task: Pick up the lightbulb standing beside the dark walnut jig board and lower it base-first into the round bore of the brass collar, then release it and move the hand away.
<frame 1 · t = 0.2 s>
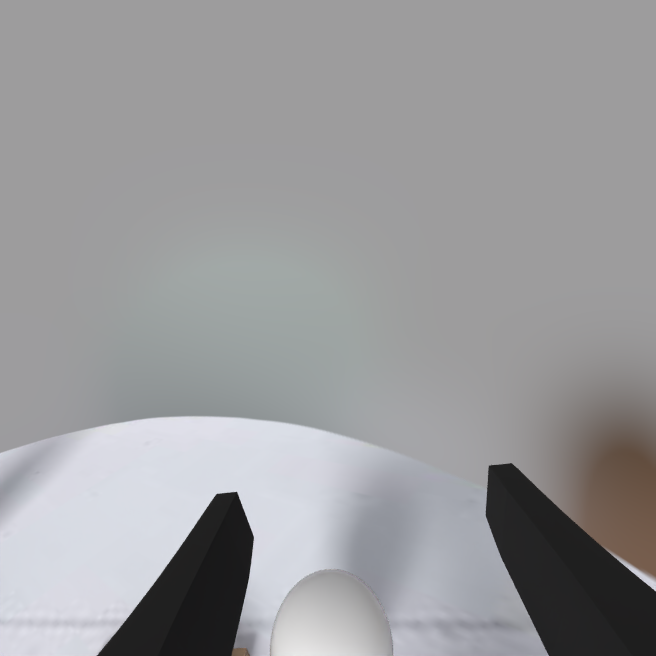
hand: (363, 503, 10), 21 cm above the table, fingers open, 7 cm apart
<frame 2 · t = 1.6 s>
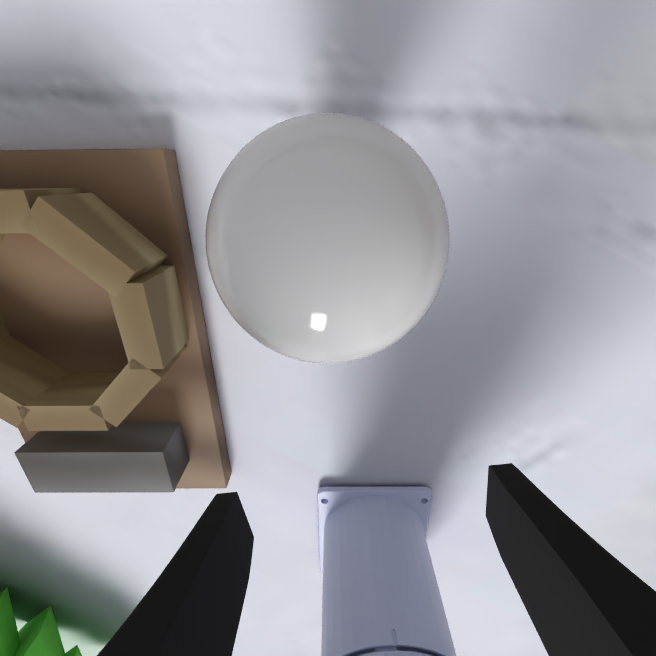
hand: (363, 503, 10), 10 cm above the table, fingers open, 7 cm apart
lightbulb: (329, 217, 17), on the table
jig: (105, 346, 19), on the table
decorative tree: (42, 614, 31), on the table
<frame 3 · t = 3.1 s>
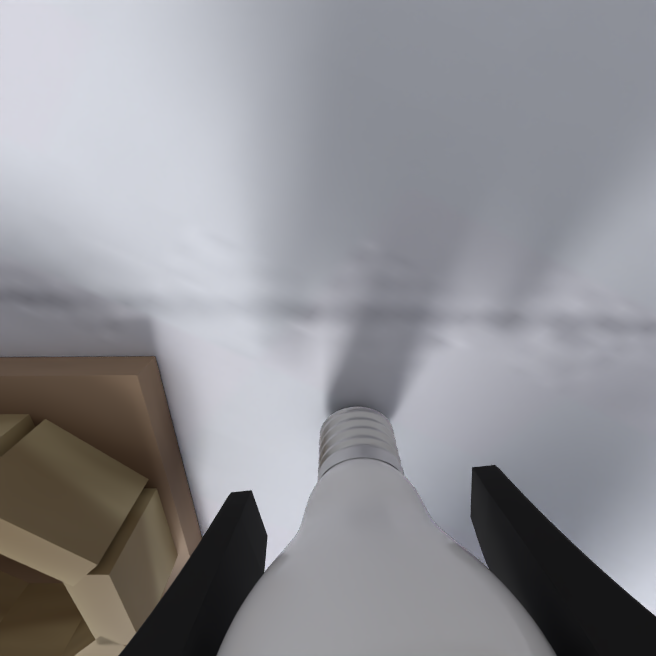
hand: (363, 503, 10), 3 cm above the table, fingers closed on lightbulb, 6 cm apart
lightbulb: (354, 420, 13), on the table, touching gripper
jig: (76, 542, 16), on the table
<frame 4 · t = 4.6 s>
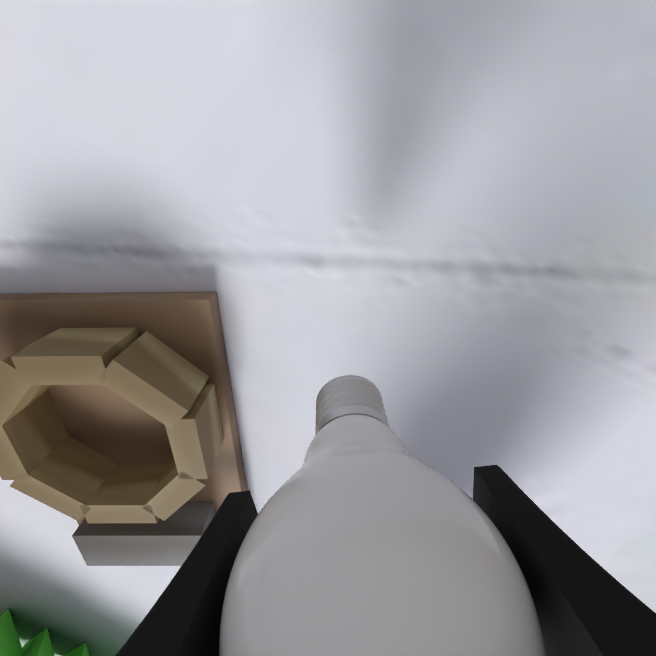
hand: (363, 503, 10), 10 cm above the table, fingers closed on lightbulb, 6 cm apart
lightbulb: (347, 390, 15), point 5 cm above the table, touching gripper
jig: (148, 437, 22), on the table
decorative tree: (76, 649, 34), on the table
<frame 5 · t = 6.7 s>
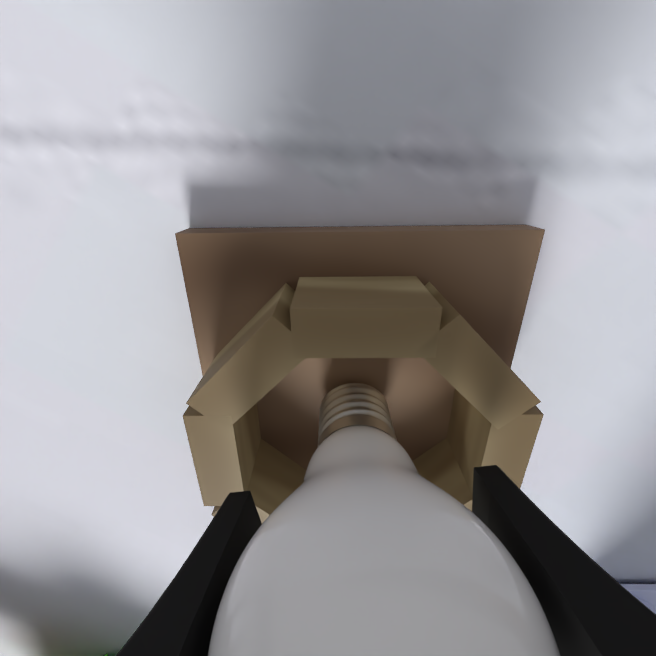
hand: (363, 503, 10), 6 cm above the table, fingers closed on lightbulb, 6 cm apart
lightbulb: (352, 398, 14), point 1 cm above the table, touching gripper, jig
jig: (351, 441, 16), on the table
when the fingers open (6 cm above the table, at t = 7.7 s): lightbulb stays where it is, resting on jig.
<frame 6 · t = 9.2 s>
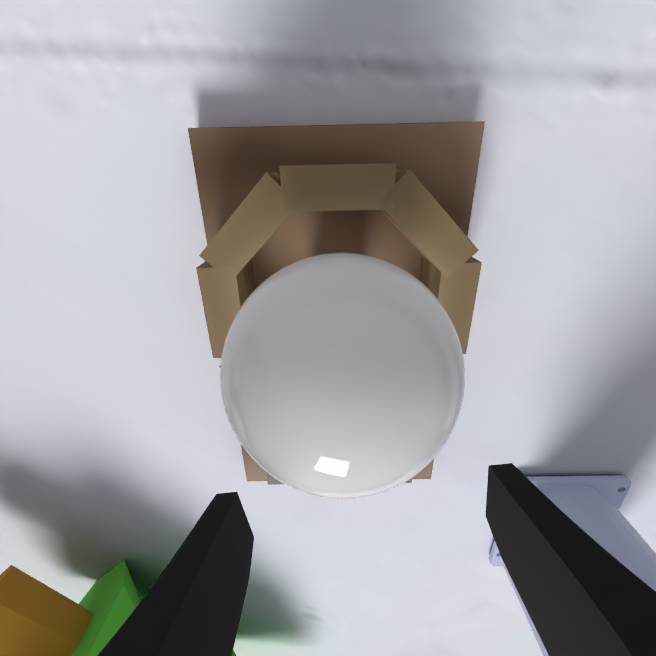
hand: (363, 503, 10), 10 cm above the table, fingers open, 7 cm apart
lightbulb: (335, 283, 17), point 1 cm above the table, touching jig
jig: (337, 334, 19), on the table
decorative tree: (187, 609, 31), on the table
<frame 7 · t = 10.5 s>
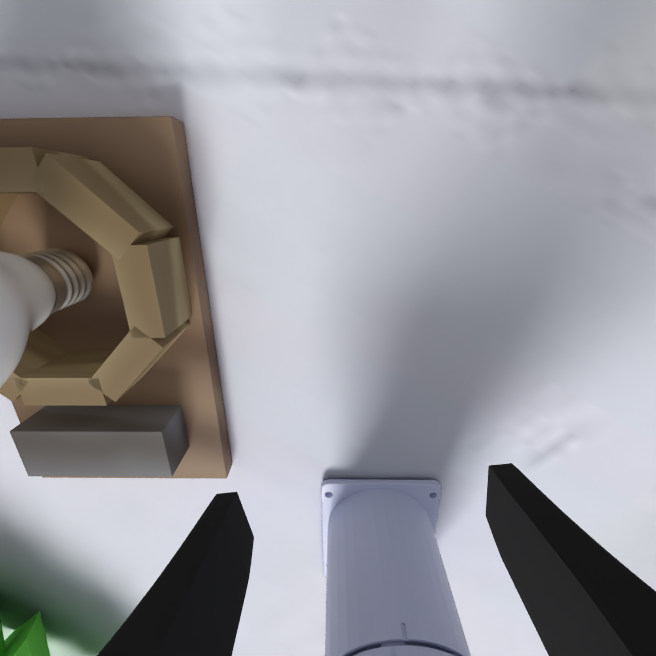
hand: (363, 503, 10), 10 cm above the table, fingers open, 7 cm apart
lightbulb: (77, 272, 17), point 1 cm above the table, touching jig
jig: (107, 325, 19), on the table
decorative tree: (30, 622, 30), on the table
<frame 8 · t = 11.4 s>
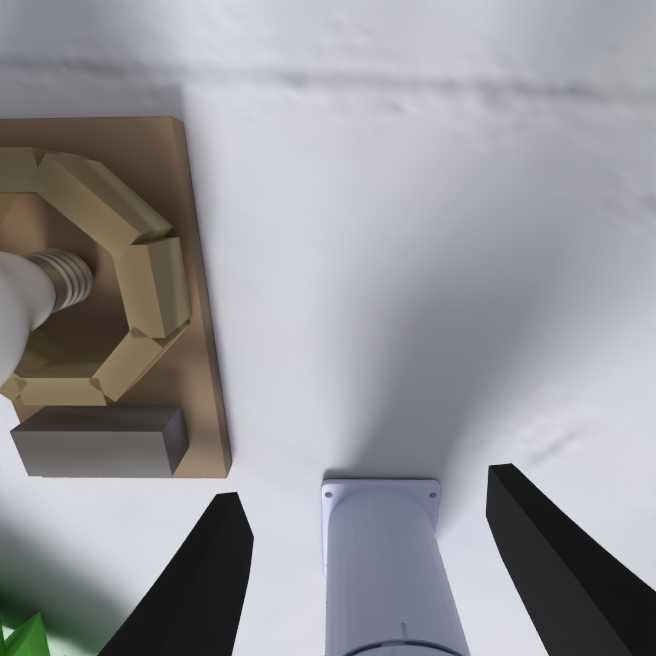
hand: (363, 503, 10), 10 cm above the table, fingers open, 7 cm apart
lightbulb: (77, 272, 17), point 1 cm above the table, touching jig
jig: (107, 325, 19), on the table
decorative tree: (30, 622, 30), on the table
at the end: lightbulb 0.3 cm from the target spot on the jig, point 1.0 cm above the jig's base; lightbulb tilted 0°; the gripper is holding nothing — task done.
